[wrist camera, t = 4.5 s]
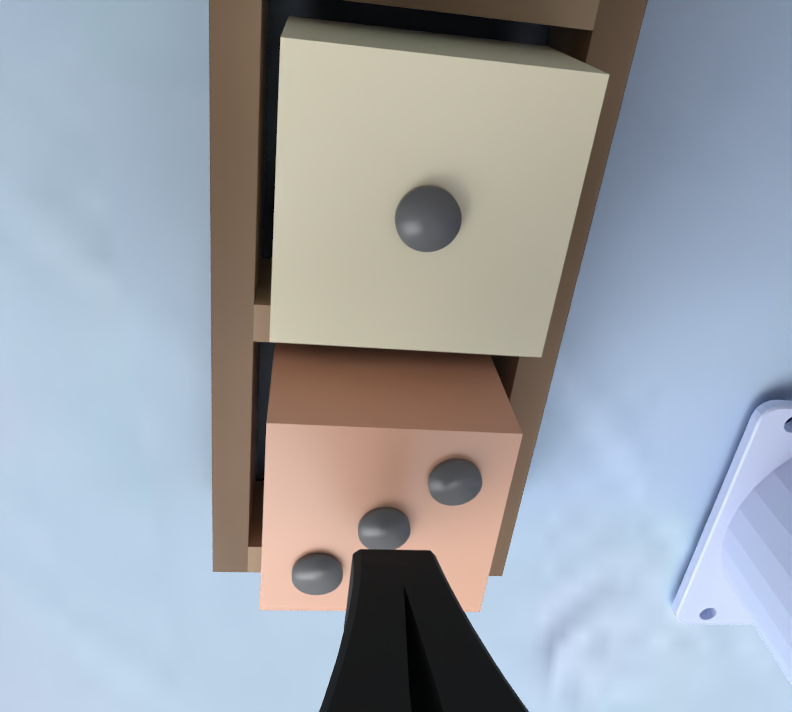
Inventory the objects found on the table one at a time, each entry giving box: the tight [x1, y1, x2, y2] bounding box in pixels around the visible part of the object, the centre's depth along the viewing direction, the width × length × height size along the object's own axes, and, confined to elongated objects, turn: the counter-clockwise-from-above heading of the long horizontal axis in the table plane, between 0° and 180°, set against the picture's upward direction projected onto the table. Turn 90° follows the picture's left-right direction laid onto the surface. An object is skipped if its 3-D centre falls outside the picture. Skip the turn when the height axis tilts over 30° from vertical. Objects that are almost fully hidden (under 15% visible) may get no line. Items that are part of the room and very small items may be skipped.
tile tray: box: [209, 0, 648, 576], centre depth 14 cm, size 7×19×2 cm, turn 173°
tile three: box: [260, 343, 523, 612], centre depth 15 cm, size 5×5×3 cm
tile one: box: [269, 16, 610, 357], centre depth 12 cm, size 5×5×3 cm
